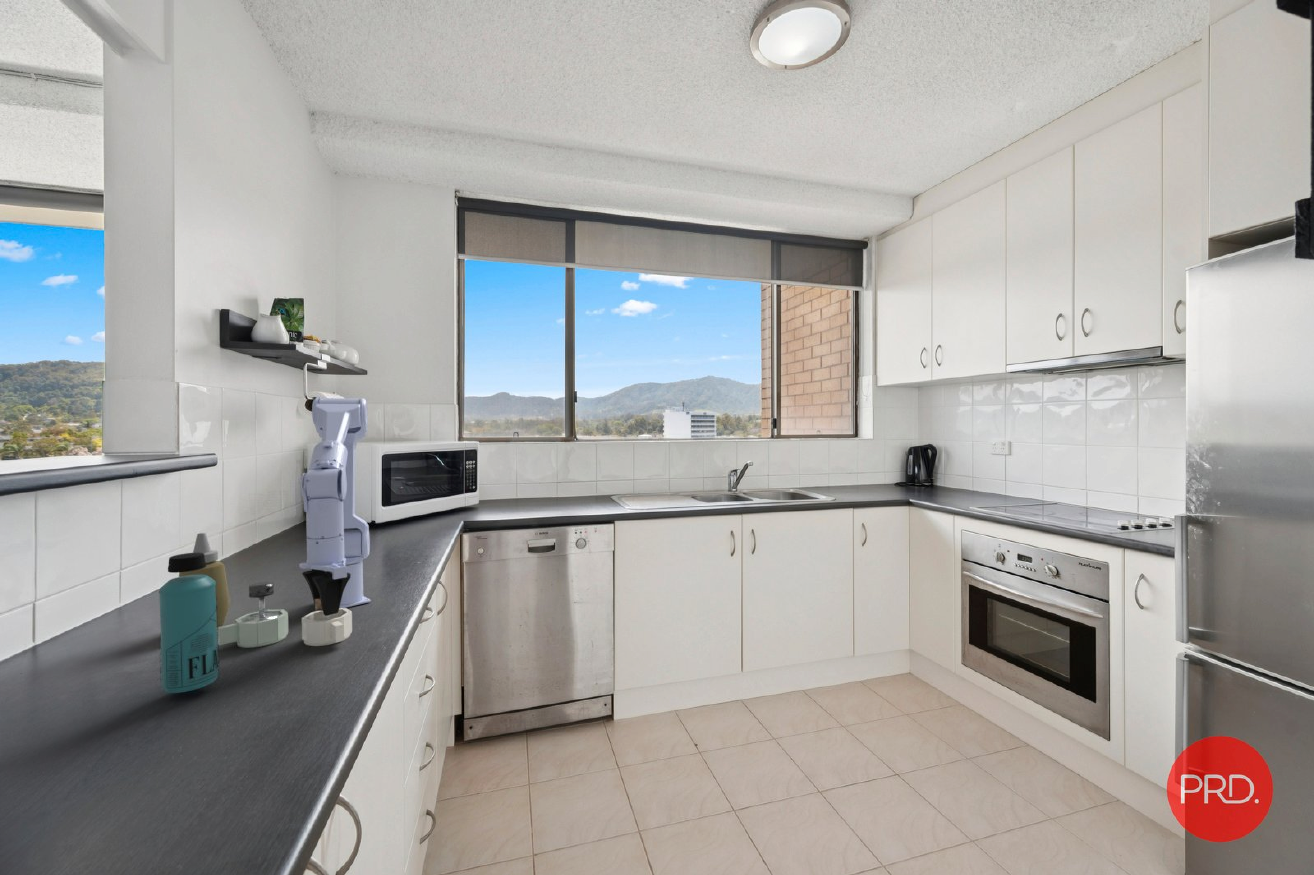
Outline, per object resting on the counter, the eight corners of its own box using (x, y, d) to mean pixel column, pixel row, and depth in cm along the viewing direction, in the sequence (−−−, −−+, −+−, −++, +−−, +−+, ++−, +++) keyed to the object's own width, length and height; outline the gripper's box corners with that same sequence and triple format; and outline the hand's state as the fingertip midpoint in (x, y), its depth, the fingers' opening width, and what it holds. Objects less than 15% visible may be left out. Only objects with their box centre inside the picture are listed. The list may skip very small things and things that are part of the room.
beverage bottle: (186, 706, 75) (182, 560, 75) (147, 702, 76) (143, 558, 76) (231, 684, 82) (228, 549, 81) (195, 680, 83) (192, 548, 82)
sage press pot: (280, 629, 104) (280, 606, 104) (292, 638, 99) (291, 615, 99) (214, 644, 96) (214, 620, 96) (223, 656, 92) (222, 631, 92)
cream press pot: (298, 638, 99) (298, 615, 99) (342, 627, 104) (342, 605, 104) (316, 653, 92) (315, 628, 92) (362, 641, 98) (361, 617, 98)
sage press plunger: (241, 621, 98) (240, 585, 98) (275, 613, 102) (274, 579, 102) (248, 628, 95) (247, 590, 95) (282, 620, 99) (281, 584, 99)
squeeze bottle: (241, 621, 108) (239, 529, 107) (203, 637, 100) (201, 538, 99) (203, 620, 109) (201, 529, 108) (163, 636, 101) (160, 537, 100)
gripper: (287, 534, 101) (289, 608, 101) (313, 545, 91) (314, 627, 91) (330, 528, 106) (332, 598, 106) (359, 538, 96) (360, 616, 96)
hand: (327, 611), depth 99 cm, fingers closed on cream press plunger, 4 cm apart
